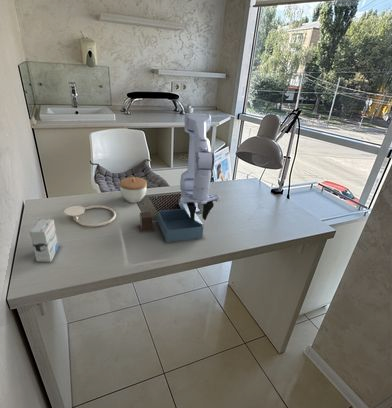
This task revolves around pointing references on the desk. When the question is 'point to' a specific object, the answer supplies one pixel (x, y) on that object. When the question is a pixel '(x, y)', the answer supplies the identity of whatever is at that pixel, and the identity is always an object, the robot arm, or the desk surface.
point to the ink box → (44, 240)
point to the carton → (178, 225)
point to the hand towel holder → (78, 210)
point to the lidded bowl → (133, 189)
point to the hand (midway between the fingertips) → (198, 219)
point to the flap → (189, 214)
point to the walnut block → (146, 221)
